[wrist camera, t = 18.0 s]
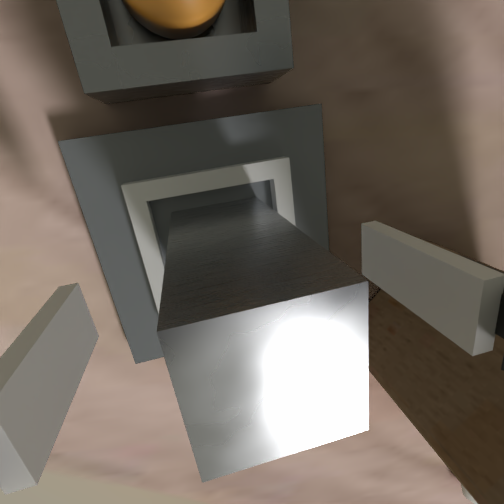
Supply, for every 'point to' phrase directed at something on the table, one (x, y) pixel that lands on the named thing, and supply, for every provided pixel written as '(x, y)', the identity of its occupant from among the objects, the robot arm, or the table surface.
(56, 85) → the table surface
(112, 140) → the plate
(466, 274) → the robot arm
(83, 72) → the button station
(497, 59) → the table surface
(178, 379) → the steel billet
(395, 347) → the wooden block
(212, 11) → the button
